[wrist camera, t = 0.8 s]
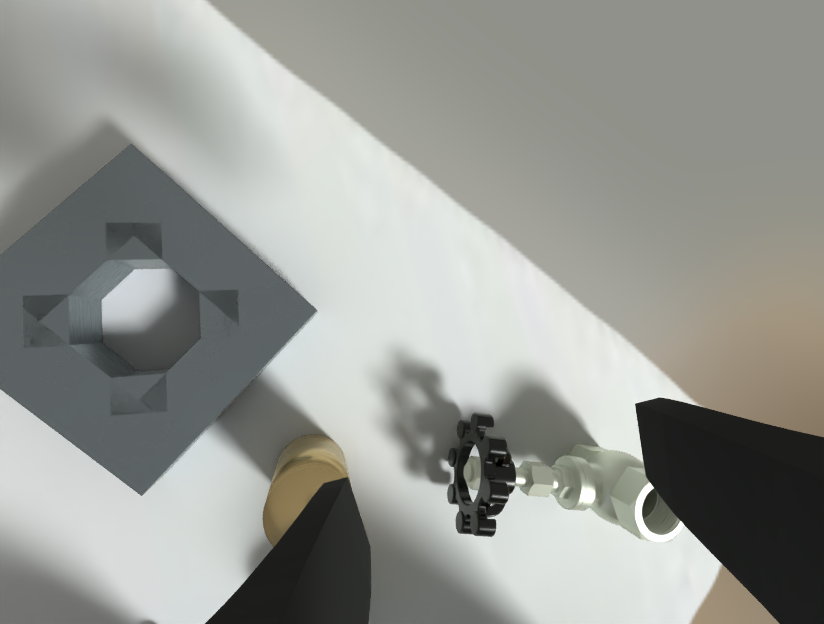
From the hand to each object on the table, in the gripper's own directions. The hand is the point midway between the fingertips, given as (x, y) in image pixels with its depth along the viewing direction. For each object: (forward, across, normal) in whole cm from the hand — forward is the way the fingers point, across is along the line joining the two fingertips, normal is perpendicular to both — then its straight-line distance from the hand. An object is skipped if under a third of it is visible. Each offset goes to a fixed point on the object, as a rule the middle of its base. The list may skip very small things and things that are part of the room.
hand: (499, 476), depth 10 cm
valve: (+16, -4, +11) cm, 20 cm away
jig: (+14, +15, -5) cm, 21 cm away
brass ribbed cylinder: (+13, +9, +6) cm, 17 cm away
